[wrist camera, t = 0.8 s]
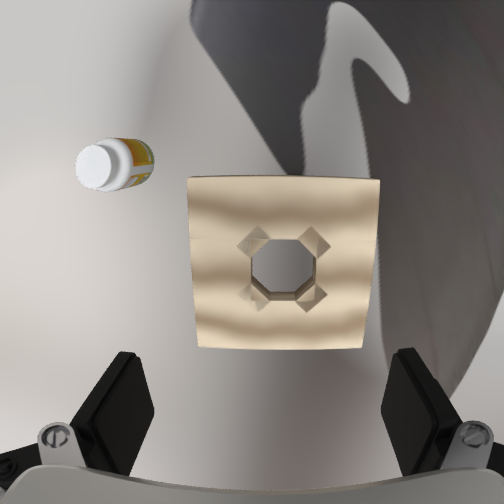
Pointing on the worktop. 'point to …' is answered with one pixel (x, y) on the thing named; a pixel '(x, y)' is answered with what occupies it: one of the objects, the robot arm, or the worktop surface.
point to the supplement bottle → (114, 164)
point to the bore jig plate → (282, 227)
